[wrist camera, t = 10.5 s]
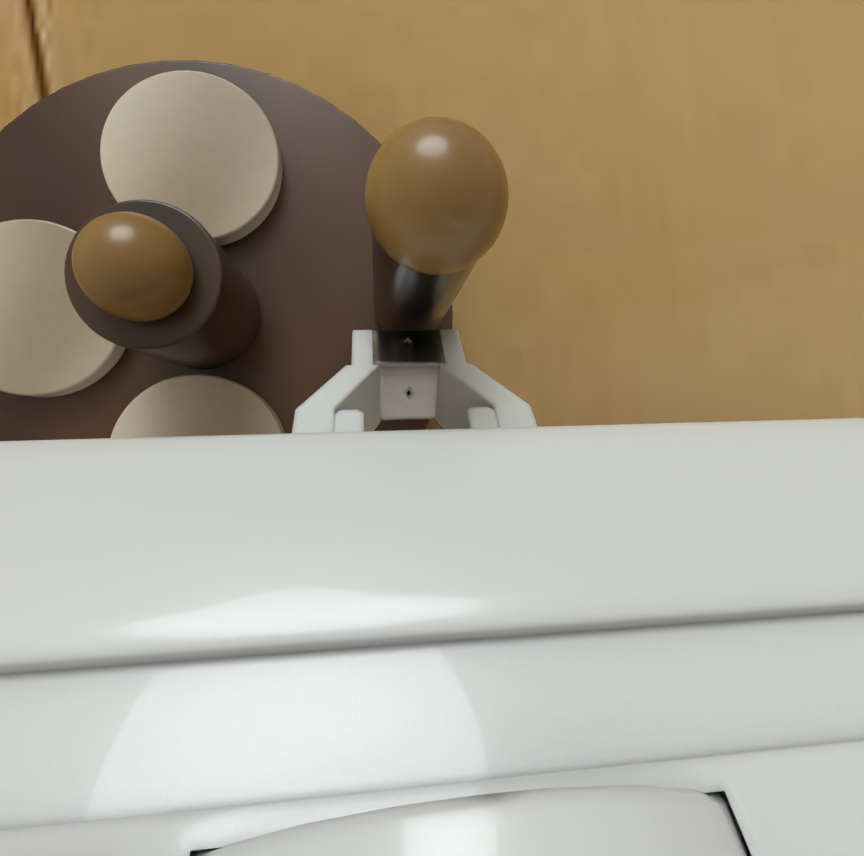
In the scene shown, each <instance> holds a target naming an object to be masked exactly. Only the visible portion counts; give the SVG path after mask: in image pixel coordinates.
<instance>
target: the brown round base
mask: <svg viewBox="0 0 864 856" xmlns="http://www.w3.org/2000/svg"><path fill="white" fill-rule="evenodd" d="M507 208H508V183H507V178H506V173H505V170H504V167H503V164H502V162H501V160H500V158H499V156H498V154H497V152H496V151H495V149H494V148H493V146H492V145H491V144H490V142H489V141H488V140H487V139H486V138H485V137H484V136H483V135H482V134H481V133H480V132H478V131H477V130H475V129H474V128H473V127H471V126H469V125H467V124H465V123H463V122H460V121H458V120H455V119H450V118H444V117H429V118H422V119H419V120H416V121H413V122H411V123H409V124H406V125H404V126H403V127H401V128H400V129H398V130H396V131H395V132H394V133H393V134H392V135H390V136H389V137H388V139H387V140H386V141H385V142H384V143H383V144H382V145H381V144H380V143H379V142H378V141H377V140H376V139H375V138H374V137H372V136H371V135H370V134H369V133H368V132H367V131H366V130H365V129H363V128H362V127H361V126H360V125H359V124H358V123H357V122H356V121H354V120H353V119H352V118H351V117H349V116H348V115H346V114H345V113H343V112H342V111H340V110H339V109H338V108H336V107H335V106H333V105H332V104H330V103H329V102H327V101H326V100H324V99H322V98H320V97H319V96H317V95H315V94H313V93H311V92H309V91H307V90H305V89H303V88H301V87H299V86H298V85H296V84H293V83H290V82H288V81H285V80H282V79H280V78H277V77H274V76H272V75H269V74H266V73H264V72H260V71H255V70H251V69H247V68H243V67H239V66H235V65H231V64H222V63H213V62H204V61H158V62H151V63H143V64H136V65H129V66H124V67H121V68H117V69H113V70H110V71H106V72H102V73H99V74H95V75H92V76H90V77H87V78H85V79H83V80H80V81H78V82H76V83H73V84H71V85H68V86H66V87H64V88H61V89H60V90H58V91H56V92H55V93H53V94H51V95H49V96H48V97H46V98H44V99H43V100H41V101H39V102H37V103H36V104H34V105H32V106H31V107H30V108H28V109H27V110H26V111H25V112H23V113H22V114H21V115H19V116H18V117H17V118H16V119H14V120H13V121H12V122H11V123H9V124H8V125H7V126H5V127H4V128H3V129H2V130H1V131H0V441H26V440H64V439H101V438H138V437H175V436H212V435H249V434H286V433H292V428H293V422H294V415H295V410H296V409H297V408H298V407H299V406H300V405H301V404H302V403H304V402H305V401H306V400H307V399H308V398H309V397H310V396H312V395H313V394H314V393H315V392H316V391H317V390H318V389H320V388H321V387H322V386H323V385H324V384H325V383H326V382H328V381H329V380H330V379H331V378H332V377H333V376H334V375H336V374H337V373H338V372H339V371H340V370H341V369H342V368H344V367H345V366H346V365H351V360H352V332H353V330H372V340H373V330H409V331H419V330H445V329H452V303H453V301H454V299H455V298H456V296H457V294H458V292H459V291H460V289H461V287H462V286H463V284H464V282H465V281H466V279H467V277H468V275H469V274H470V272H471V270H472V269H473V267H474V265H475V263H476V262H477V261H478V260H479V259H480V258H481V257H482V256H483V255H485V253H486V252H487V251H488V250H489V249H490V248H491V246H492V245H493V244H494V242H495V241H496V239H497V238H498V236H499V233H500V231H501V229H502V227H503V224H504V221H505V218H506V213H507ZM429 421H430V419H403V420H383V421H380V423H379V425H378V426H377V427H376V429H375V430H374V431H397V430H425V429H426V427H427V425H428V423H429Z"/></svg>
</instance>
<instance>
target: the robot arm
mask: <svg viewBox="0 0 864 856" xmlns="http://www.w3.org/2000/svg"><path fill="white" fill-rule="evenodd" d="M403 419H436V422H437V423H438V424H439V425H440V426H441V427H442V428H443V429H434V430H397V431H374V430H375V429H376V427H377V426H378V425H379V423H380V421H383V420H403ZM0 856H864V418H838V419H804V420H768V421H730V422H692V423H655V424H617V425H580V426H544V427H538V426H537V424H536V421H535V418H534V415H533V412H532V410H531V407H530V405H529V404H528V403H526V402H525V401H524V400H522V399H521V398H519V397H518V396H517V395H515V394H514V393H512V392H511V391H510V390H508V389H507V388H505V387H504V386H503V385H501V384H500V383H498V382H497V381H496V380H494V379H493V378H491V377H490V376H488V375H487V374H486V373H484V372H483V371H481V370H480V369H479V368H477V367H476V366H474V365H473V364H467V363H466V359H465V355H464V351H463V347H462V343H461V339H460V335H459V331H458V330H457V329H445V330H419V331H409V330H373V340H372V330H353V332H352V360H351V365H346V366H345V367H344V368H342V369H341V370H340V371H339V372H338V373H337V374H336V375H334V376H333V377H332V378H331V379H330V380H329V381H328V382H326V383H325V384H324V385H323V386H322V387H321V388H320V389H318V390H317V391H316V392H315V393H314V394H313V395H312V396H310V397H309V398H308V399H307V400H306V401H305V402H304V403H302V404H301V405H300V406H299V407H298V408H297V409H296V410H295V415H294V422H293V428H292V433H286V434H249V435H212V436H175V437H138V438H101V439H64V440H26V441H0Z"/></svg>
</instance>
